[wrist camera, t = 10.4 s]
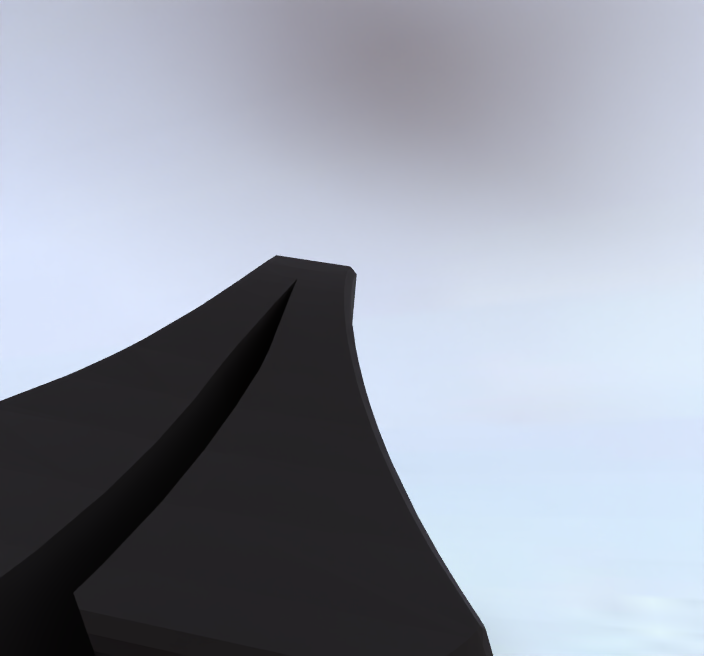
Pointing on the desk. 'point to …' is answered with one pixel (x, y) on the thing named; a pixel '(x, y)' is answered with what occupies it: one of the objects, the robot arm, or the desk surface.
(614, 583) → the desk surface
